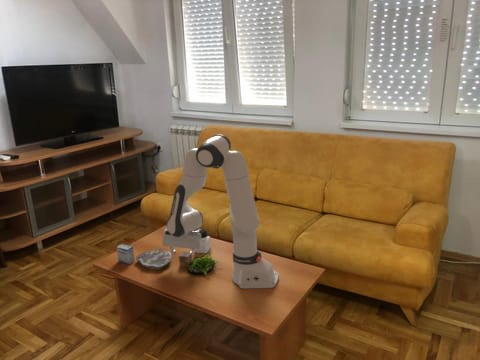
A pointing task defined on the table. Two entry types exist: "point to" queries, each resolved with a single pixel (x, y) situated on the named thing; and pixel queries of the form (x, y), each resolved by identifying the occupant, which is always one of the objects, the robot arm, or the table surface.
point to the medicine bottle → (204, 242)
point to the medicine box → (125, 254)
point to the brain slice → (154, 259)
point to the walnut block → (185, 259)
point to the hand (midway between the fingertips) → (182, 254)
